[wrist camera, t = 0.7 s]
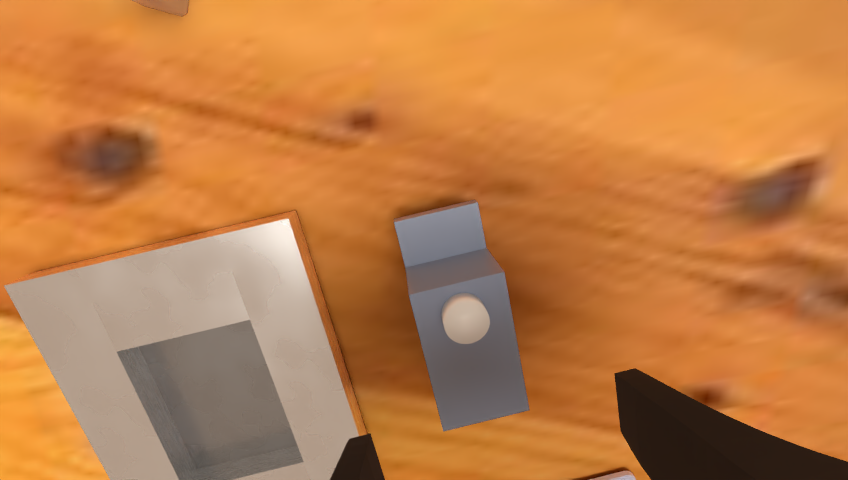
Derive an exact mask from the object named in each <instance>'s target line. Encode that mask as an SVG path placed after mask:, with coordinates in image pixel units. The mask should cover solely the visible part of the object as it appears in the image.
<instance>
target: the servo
mask: <svg viewBox="0 0 848 480" xmlns="http://www.w3.org/2000/svg"><path fill="white" fill-rule="evenodd" d="M394 225H395V229H396V233H397V237H398V240H399V244H400V248H401V252H402V256H403V260H404V264H405V269H406V277H407V285H408V293H409V298H410V302H411V306H412V310H413V314H414V317H415V321H416V325H417V329H418V333H419V337H420V341H421V345H422V349H423V353H424V357H425V361H426V365H427V369H428V372H429V376H430V380H431V384H432V388H433V392H434V396H435V400H436V404H437V408H438V412H439V416H440V420H441V424H442V427H443V431H447V430H451V429H455V428H459V427H463V426H467V425H471V424H476V423H480V422H484V421H488V420H492V419H496V418H500V417H504V416H508V415H512V414H516V413H520V412H524V411H528V410H529V405H528V399H527V394H526V388H525V383H524V377H523V372H522V366H521V361H520V355H519V350H518V344H517V339H516V333H515V328H514V322H513V317H512V311H511V306H510V300H509V295H508V289H507V284H506V278H505V273H504V271H503V269H502V268H501V267H500V265H499V264H498V263H497V261H496V260H495V259H494V257H493V256H492V255H491V253H490V252H489V251H488V249H487V248H486V243H485V238H484V232H483V227H482V222H481V217H480V211H479V206H478V202H477V201H476V200H471V201H467V202H463V203H458V204H454V205H450V206H446V207H442V208H437V209H433V210H429V211H425V212H421V213H416V214H412V215H408V216H404V217H400V218H395V219H394Z"/></svg>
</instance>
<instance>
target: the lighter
mask: <svg viewBox="0 0 848 480" xmlns="http://www.w3.org/2000/svg"><path fill="white" fill-rule="evenodd" d="M132 1H134V2H136V3H139V4H141V5H143V6H146V7H149V8H153V9H157V10H160V11H164V12H168V13H171V14H175V15H179V16H184V15H185V14H187V11H188V1H189V0H132Z"/></svg>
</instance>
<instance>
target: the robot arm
mask: <svg viewBox="0 0 848 480" xmlns="http://www.w3.org/2000/svg"><path fill="white" fill-rule="evenodd" d="M615 382H616V391H617V401H618V410H619V419H620V428H621V432H622V434H623V436H624V438H625V439H626V441H627V443H628V445H629V446H630V448H631V450H632V451H633V453H634V455H635V456H636V458H637V460H638V461H639V463H640V465H641V466H642V467H643V469H644V470H645V472H646V473H647V474H648V476H649V477H650V478H651V480H848V462H846V461H843V460H840V459H837V458H834V457H831V456H828V455H825V454H821V453H818V452H816V451H813V450H810V449H807V448H804V447H801V446H798V445H796V444H793V443H791V442H788V441H785V440H783V439H780V438H778V437H775V436H772V435H770V434H767V433H765V432H762V431H760V430H758V429H755V428H753V427H751V426H748V425H746V424H744V423H742V422H740V421H737V420H735V419H733V418H731V417H729V416H726V415H724V414H722V413H720V412H718V411H716V410H714V409H712V408H710V407H708V406H706V405H704V404H702V403H700V402H698V401H696V400H694V399H692V398H690V397H688V396H686V395H684V394H682V393H680V392H679V391H677V390H675V389H673V388H671V387H669V386H667V385H665V384H664V383H662V382H660V381H658V380H656V379H654V378H653V377H651V376H649V375H647V374H645V373H643V372H641V371H639V370H637V369H631V370H627V371H623V372H619V373H615ZM330 480H385V479H384V476H383V472H382V469H381V466H380V463H379V460H378V457H377V453H376V450H375V447H374V444H373V441H372V438H371V434H366V435H362V436H358V437H354V438H350V439H349V440H348V442H347V443H346V445H345V448H344V450H343V452H342V454H341V457H340V459H339V461H338V463H337V465H336V467H335V469H334V472H333V474H332V476H331V478H330ZM589 480H636V479H635V477H634V475H633V474H632V473H631V472H630V471H621V472H617V473H613V474H609V475H605V476H601V477H597V478H593V479H589Z"/></svg>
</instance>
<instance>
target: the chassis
mask: <svg viewBox="0 0 848 480" xmlns="http://www.w3.org/2000/svg"><path fill="white" fill-rule="evenodd" d="M4 287H5V288H6V290H7V292H8V294H9V296H10V298H11V299H12V301H13V303H14V305H15V307H16V309H17V310H18V312H19V314H20V316H21V318H22V319H23V321H24V323H25V325H26V327H27V329H28V330H29V332H30V334H31V336H32V338H33V340H34V341H35V343H36V345H37V347H38V349H39V350H40V352H41V354H42V356H43V358H44V360H45V361H46V363H47V365H48V367H49V369H50V371H51V372H52V374H53V376H54V378H55V380H56V381H57V383H58V385H59V387H60V389H61V391H62V392H63V394H64V396H65V398H66V400H67V402H68V403H69V405H70V407H71V409H72V411H73V412H74V414H75V416H76V418H77V420H78V422H79V423H80V425H81V427H82V429H83V431H84V433H85V434H86V436H87V438H88V440H89V442H90V443H91V445H92V447H93V449H94V451H95V453H96V454H97V456H98V458H99V460H100V462H101V464H102V465H103V467H104V469H105V471H106V473H107V474H108V476H109V478H110V480H330V478H331V476H332V474H333V472H334V469H335V467H336V465H337V463H338V461H339V459H340V457H341V454H342V452H343V450H344V448H345V445H346V443H347V442H348V440H349V439H350V438H354V437H358V436H362V435H366V434H367V432H366V429H365V426H364V422H363V419H362V416H361V413H360V410H359V407H358V404H357V400H356V397H355V394H354V391H353V388H352V385H351V382H350V378H349V375H348V372H347V369H346V366H345V363H344V359H343V356H342V353H341V350H340V347H339V344H338V341H337V337H336V334H335V331H334V328H333V325H332V322H331V319H330V315H329V312H328V309H327V306H326V303H325V300H324V297H323V293H322V290H321V287H320V284H319V281H318V278H317V275H316V271H315V268H314V265H313V262H312V259H311V256H310V252H309V249H308V246H307V243H306V240H305V237H304V234H303V230H302V227H301V224H300V221H299V218H298V215H297V212H296V210H294V211H290V212H286V213H282V214H278V215H273V216H269V217H265V218H261V219H256V220H252V221H248V222H244V223H240V224H235V225H231V226H227V227H223V228H218V229H214V230H210V231H206V232H202V233H197V234H193V235H189V236H185V237H180V238H176V239H172V240H168V241H164V242H159V243H155V244H151V245H147V246H142V247H138V248H134V249H130V250H126V251H121V252H117V253H113V254H109V255H104V256H100V257H96V258H92V259H88V260H83V261H79V262H75V263H71V264H66V265H62V266H58V267H54V268H50V269H45V270H41V271H37V272H33V273H31V274H29V275H27V276H24V277H22V278H20V279H18V280H16V281H13V282H11V283H9V284H7V285H4Z"/></svg>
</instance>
